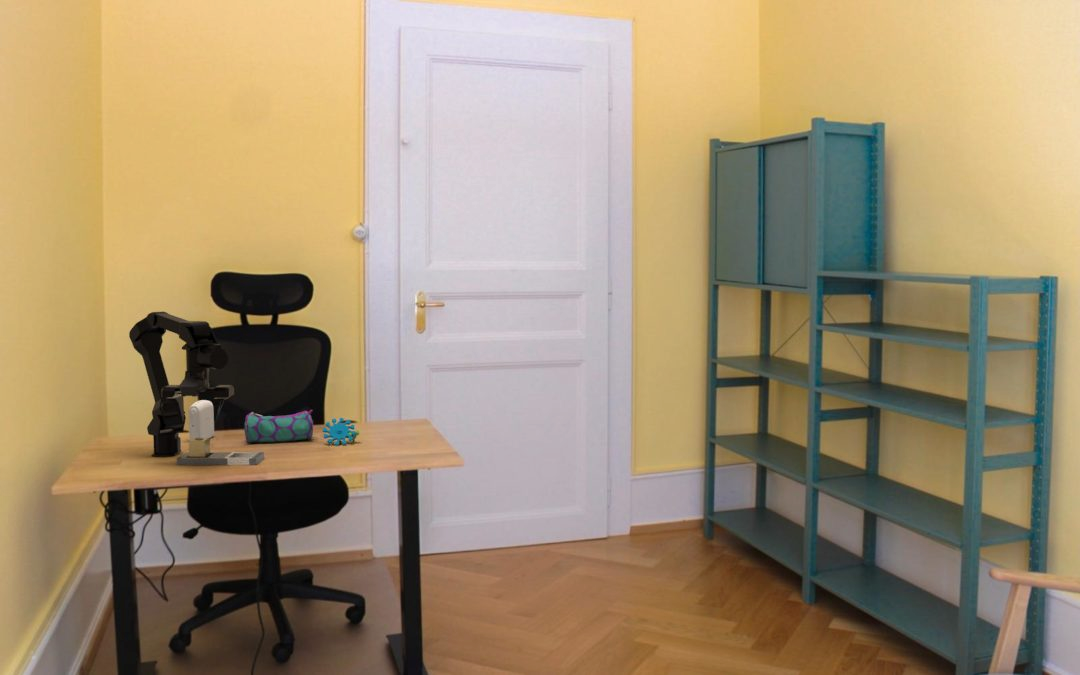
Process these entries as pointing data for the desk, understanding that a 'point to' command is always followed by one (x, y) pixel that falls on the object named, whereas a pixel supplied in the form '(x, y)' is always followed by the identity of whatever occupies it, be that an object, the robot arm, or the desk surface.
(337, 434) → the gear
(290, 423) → the pencil case
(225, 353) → the robot arm
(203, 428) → the photo printer
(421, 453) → the desk surface
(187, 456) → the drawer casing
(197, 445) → the wooden pull-out drawer
